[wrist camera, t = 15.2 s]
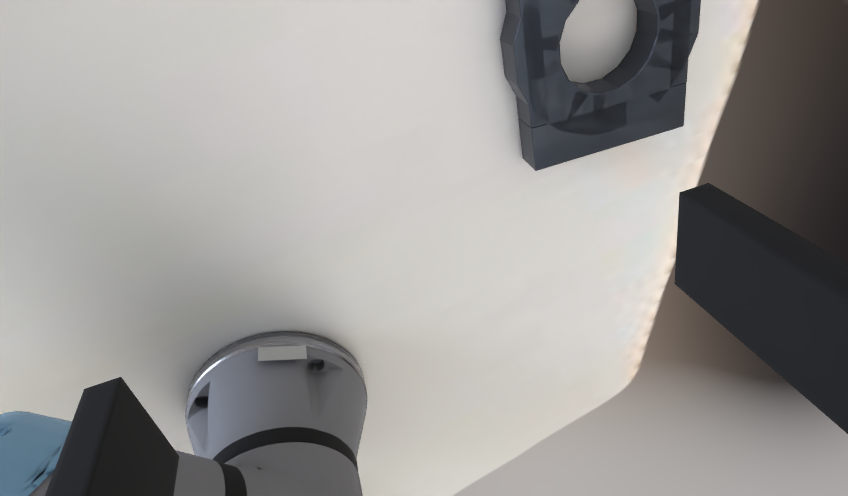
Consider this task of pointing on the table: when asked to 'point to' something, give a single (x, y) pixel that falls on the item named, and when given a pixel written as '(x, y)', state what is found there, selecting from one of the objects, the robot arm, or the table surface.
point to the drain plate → (601, 99)
